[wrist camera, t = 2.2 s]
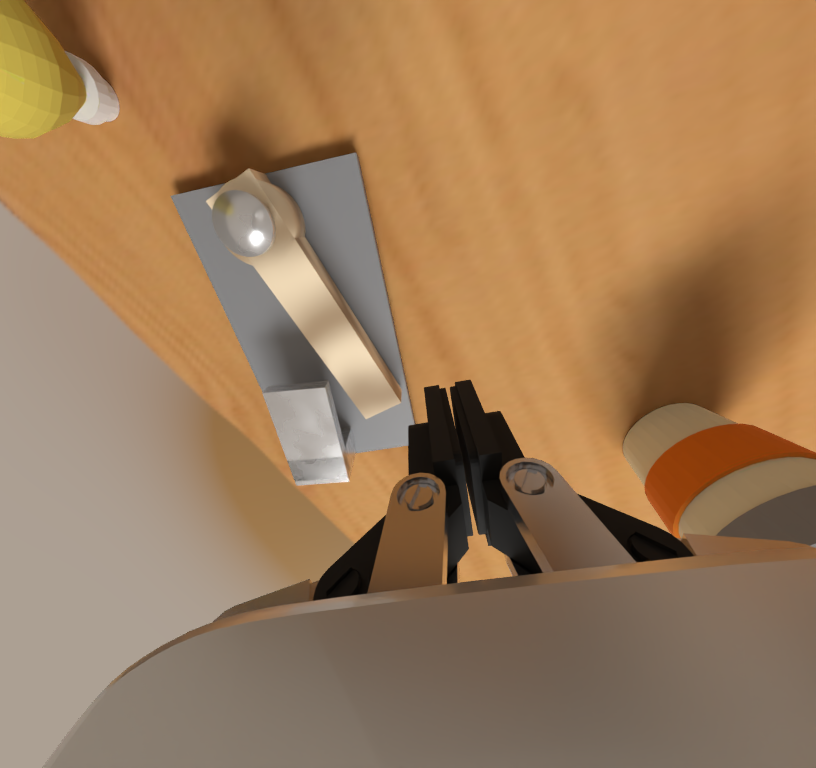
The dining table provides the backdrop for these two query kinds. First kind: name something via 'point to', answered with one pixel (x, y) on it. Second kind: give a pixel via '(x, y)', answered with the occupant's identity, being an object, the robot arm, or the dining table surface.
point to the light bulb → (45, 79)
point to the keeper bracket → (311, 432)
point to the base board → (348, 268)
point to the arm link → (316, 300)
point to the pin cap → (243, 223)
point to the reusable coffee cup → (723, 476)
